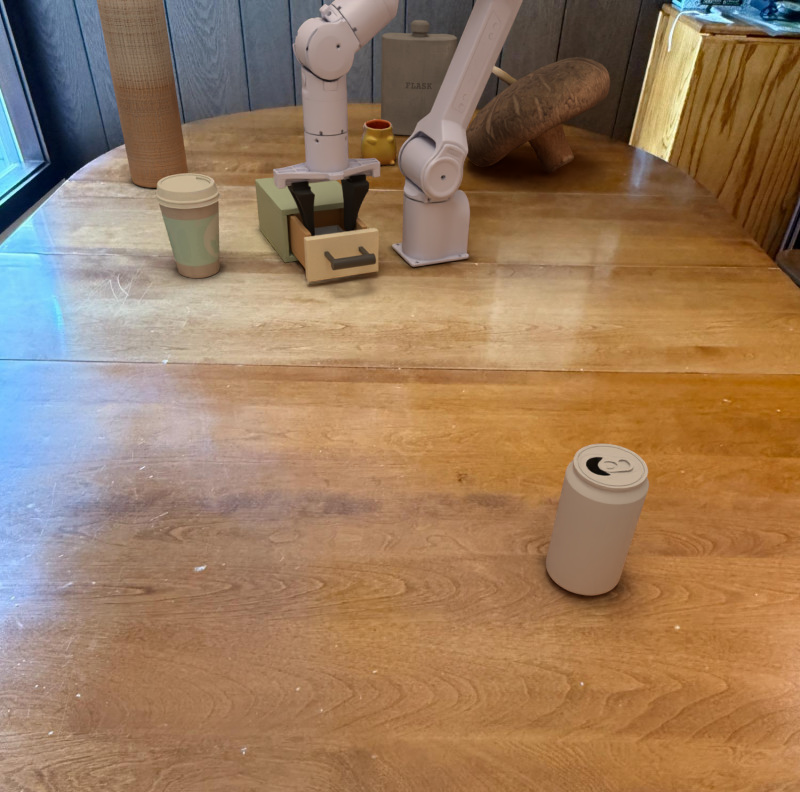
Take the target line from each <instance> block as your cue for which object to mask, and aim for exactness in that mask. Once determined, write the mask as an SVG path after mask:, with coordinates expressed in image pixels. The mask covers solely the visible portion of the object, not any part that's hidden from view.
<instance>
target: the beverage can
mask: <svg viewBox="0 0 800 792" xmlns="http://www.w3.org/2000/svg"><path fill="white" fill-rule="evenodd" d="M648 475H649V468H648V464H647V463H646V462H645V460H644V458H642V457H641V456H640V455H639V454H637V453H636V452H634V451H633V450H631V449H629V448H627V447H624V446H620V445H618V444H617V445H616V444H612V443H593V444H589V445H585V446H583V447H581V448H579V449H578V450H577V451H576V452H575V454H574V456H573V459H572V460H571V461H570V462H569V463H568V465H567V466H566V469H565V472H564V478H563V480H562V481H563V482H562V487H561V491H560V495H559V500H558V504H557V508H556V514H555V518H554V523H553V526H552V531H551V536H550V540H549V544H548V549H547V554H546V558H545V567H546V568H545V569H546V571H547V574H548V575H549V577H550V578H551V580H552V581H553V582H554V583H556V584H557V585H558V586H559V587H561V588H562V589H563V590H566V591H568V592H570V593H573V594H576V595H581V596H599V595H603V594H606V593H608V592H611V591H612V590H613V589H614V588H615V587H616V586H617V585H618V584H619V582H620V580H621V576H622V574H623V570H624V568H625V564H626V561H627V558H628V554H629V551H630V548H631V545H632V542H633V538H634V536H635V533H636V529H637V527H638V523H639V521H640V517H641V514H642V511H643V508H644V504H645V501H646V498H647V494H648V491H649V488H650V482H649V481H650V480H649V478H648Z"/></svg>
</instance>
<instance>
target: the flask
mask: <svg viewBox="0 0 800 792" xmlns="http://www.w3.org/2000/svg"><path fill="white" fill-rule="evenodd" d="M410 31H411V32H412V33H407V32H386V33H383V34H382V35H381V59H380V61H381V63H380V65H381V70H380V71H381V75H380V77H381V78H380V79H381V80H380V81H381V82H380V120H386V121H389V122H390V123H391V124H392V126H393V133H394V136H400V137H401V136H403V137H410V136H411V135H412V134H413V132H414V130H415V128H416V125H417V123H418V122H419V121H420V120H421V119H423V118H424V117H425V116H427V115H428V114H429V113H430V112H431V110H432V107H433V105H434V102H435V100H436V98H437V95H438V93H439V90H440V88H441V85H442V83H443V80H444V78H445V76H446V73H447V71H448V68H449V66H450V63H451V61H452V59H453V56H454V54H455V51H456V49H457V46H458V37H457V36H455V35H453V34H448V33H428V32H430V23H429V21H427V20H423V19H415V20H413V21H412V22H411V23H410Z"/></svg>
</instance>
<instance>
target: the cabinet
mask: <svg viewBox="0 0 800 792" xmlns="http://www.w3.org/2000/svg"><path fill="white" fill-rule="evenodd" d="M254 185H255V195H256V205H257V217H258V227H259V231H260V232H261V233H262V235H263V236H264V237H265V238H266V240H267V241H268V242H269V244H270V245H271V246H272V248H273V249H274V251H276V253H277V254H278V256H279V257H280V259H282V261H283V262H284V263H291V262H292V263H293V262H300V261H299V260H298V259H297V258H296V256H295V255H294V254H293V253H292V251H291V250H290V249H289V241H288V227H287V215H290V214H298V213H300V212H299V210H298V207H297V205H296V203H295V201H294V198H293V197H292V195H291V193H290V191H289V189H288V187H287V186H286V188H282V189H278V188H277V187H276V186H275V184H274V176H273V177H264V178H263V177H262V178H256V179H254ZM309 186H310V187H311V191H312V192H313V193H314V194H315V199H314V211H322V210H330V209H338V208H344V202H343V192H342V184H341V182H339V180H334V181H326V182H317V183H309ZM357 217H358V218H359V215H358V216H357Z"/></svg>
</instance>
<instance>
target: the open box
mask: <svg viewBox="0 0 800 792" xmlns="http://www.w3.org/2000/svg"><path fill="white" fill-rule="evenodd" d="M340 232H345V231H344V230H343V229H342V228H341V227H340V226H339V225H332V226H325V227H317V228H315V236H318V235H325V234H333V233H340Z"/></svg>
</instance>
